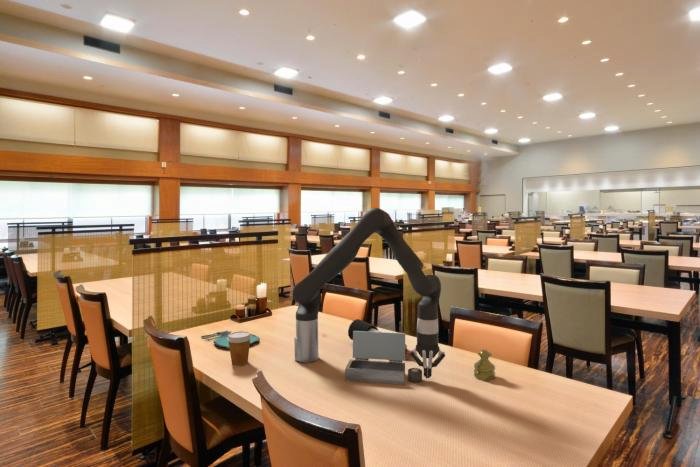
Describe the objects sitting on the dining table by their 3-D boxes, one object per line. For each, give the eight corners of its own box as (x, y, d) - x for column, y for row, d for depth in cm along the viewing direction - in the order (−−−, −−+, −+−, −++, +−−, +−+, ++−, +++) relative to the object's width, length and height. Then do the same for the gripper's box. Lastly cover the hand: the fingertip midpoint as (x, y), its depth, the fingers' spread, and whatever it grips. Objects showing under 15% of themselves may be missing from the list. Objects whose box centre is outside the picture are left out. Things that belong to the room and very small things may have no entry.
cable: (408, 371, 164) (402, 353, 159) (351, 344, 188) (345, 328, 183) (421, 355, 169) (417, 337, 165) (365, 330, 193) (359, 314, 189)
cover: (353, 331, 154) (353, 330, 156) (352, 359, 153) (353, 358, 154) (405, 333, 150) (405, 333, 152) (405, 362, 149) (405, 361, 151)
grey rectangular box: (345, 380, 145) (345, 368, 144) (349, 370, 154) (349, 359, 154) (403, 384, 141) (403, 372, 141) (405, 374, 150) (405, 362, 150)
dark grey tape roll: (407, 382, 143) (407, 372, 142) (408, 376, 148) (408, 366, 147) (422, 383, 142) (422, 373, 142) (422, 377, 147) (422, 367, 146)
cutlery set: (229, 354, 174) (228, 349, 174) (196, 339, 194) (196, 335, 194) (266, 343, 189) (266, 338, 188) (232, 330, 209) (232, 326, 209)
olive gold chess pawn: (494, 374, 149) (495, 348, 149) (495, 382, 142) (495, 354, 142) (474, 371, 152) (474, 346, 151) (473, 379, 145) (473, 352, 144)
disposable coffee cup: (256, 360, 165) (256, 332, 164) (241, 369, 156) (240, 339, 155) (238, 357, 169) (237, 329, 168) (222, 365, 160) (221, 336, 159)
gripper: (445, 328, 145) (445, 374, 146) (409, 326, 148) (409, 372, 149) (447, 334, 138) (446, 383, 139) (408, 332, 140) (408, 380, 141)
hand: (427, 377), depth 144 cm, fingers closed
